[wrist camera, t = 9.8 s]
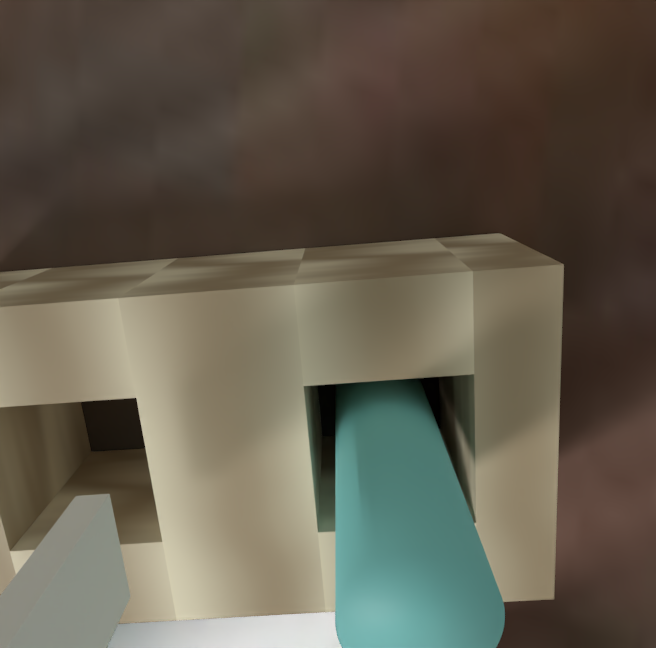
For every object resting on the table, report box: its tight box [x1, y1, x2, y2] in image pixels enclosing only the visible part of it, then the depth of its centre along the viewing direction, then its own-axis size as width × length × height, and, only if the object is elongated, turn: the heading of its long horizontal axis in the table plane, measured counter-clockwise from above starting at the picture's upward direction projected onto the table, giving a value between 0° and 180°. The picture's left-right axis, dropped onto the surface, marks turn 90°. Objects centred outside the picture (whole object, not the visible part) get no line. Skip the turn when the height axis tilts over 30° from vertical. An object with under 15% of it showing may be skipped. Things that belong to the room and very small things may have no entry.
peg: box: [335, 378, 505, 648], centre depth 16 cm, size 3×3×12 cm
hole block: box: [0, 233, 564, 624], centre depth 19 cm, size 18×10×6 cm, turn 95°
